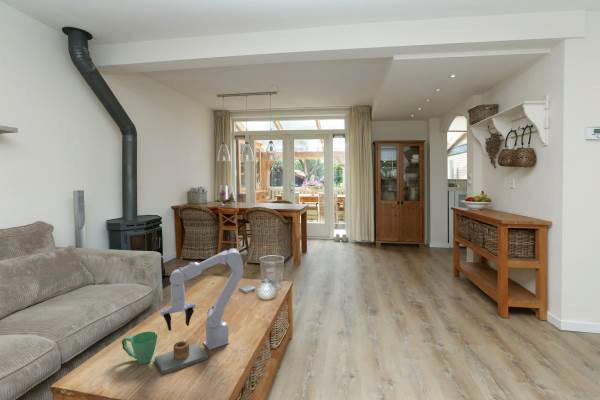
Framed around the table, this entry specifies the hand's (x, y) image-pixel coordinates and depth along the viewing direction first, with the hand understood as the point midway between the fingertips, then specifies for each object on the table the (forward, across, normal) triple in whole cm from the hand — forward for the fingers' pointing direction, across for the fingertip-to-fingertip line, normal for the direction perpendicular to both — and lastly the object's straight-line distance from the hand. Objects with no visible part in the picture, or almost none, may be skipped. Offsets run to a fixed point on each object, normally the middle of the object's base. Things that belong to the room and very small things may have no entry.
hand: (178, 327), depth 142 cm
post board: (+9, -2, -10) cm, 14 cm away
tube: (+8, -2, -10) cm, 13 cm away
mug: (+10, -16, 0) cm, 19 cm away
